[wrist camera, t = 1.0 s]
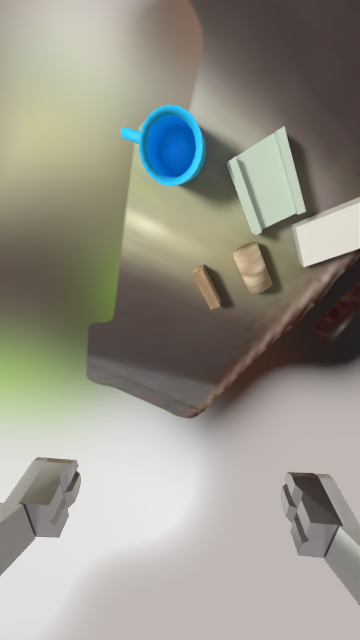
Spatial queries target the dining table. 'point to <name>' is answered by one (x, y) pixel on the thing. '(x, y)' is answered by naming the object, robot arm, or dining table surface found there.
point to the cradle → (267, 182)
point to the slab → (328, 233)
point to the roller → (252, 268)
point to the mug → (170, 145)
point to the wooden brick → (206, 286)
